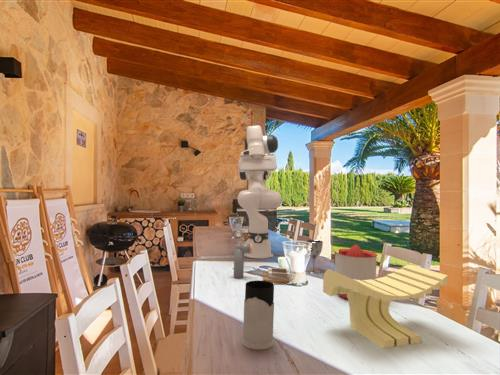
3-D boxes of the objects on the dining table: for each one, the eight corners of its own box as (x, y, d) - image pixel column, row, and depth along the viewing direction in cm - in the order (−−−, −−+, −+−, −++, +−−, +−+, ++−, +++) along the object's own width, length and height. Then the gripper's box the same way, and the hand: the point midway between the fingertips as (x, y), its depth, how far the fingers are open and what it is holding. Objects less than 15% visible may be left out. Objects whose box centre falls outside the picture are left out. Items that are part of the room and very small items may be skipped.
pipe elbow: (233, 278, 146) (234, 243, 146) (233, 275, 151) (235, 242, 151) (250, 279, 146) (252, 244, 146) (251, 276, 150) (252, 242, 150)
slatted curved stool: (402, 317, 108) (404, 262, 108) (445, 338, 93) (447, 275, 93) (321, 326, 98) (323, 266, 98) (355, 352, 83) (357, 281, 83)
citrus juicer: (335, 287, 139) (337, 239, 139) (379, 295, 130) (381, 244, 130) (323, 296, 125) (325, 244, 125) (371, 306, 117) (373, 250, 117)
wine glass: (323, 273, 160) (324, 242, 160) (306, 273, 160) (307, 242, 160) (319, 269, 168) (321, 240, 168) (304, 269, 168) (305, 239, 168)
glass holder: (236, 345, 84) (238, 286, 84) (252, 324, 98) (254, 273, 98) (269, 352, 82) (272, 291, 82) (281, 329, 95) (283, 277, 95)
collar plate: (262, 274, 154) (263, 266, 154) (293, 276, 153) (293, 267, 153) (263, 283, 140) (263, 274, 140) (296, 285, 139) (296, 275, 139)
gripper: (274, 155, 179) (276, 180, 176) (236, 156, 176) (238, 181, 173) (276, 151, 173) (279, 176, 170) (238, 152, 170) (240, 178, 167)
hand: (258, 179), depth 171 cm, fingers open, 8 cm apart
